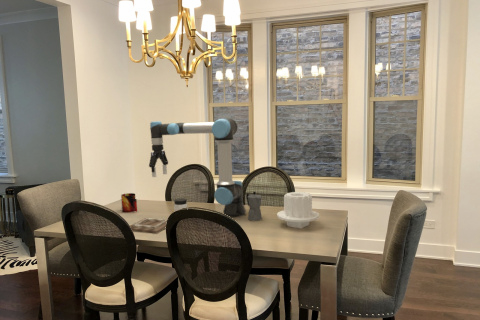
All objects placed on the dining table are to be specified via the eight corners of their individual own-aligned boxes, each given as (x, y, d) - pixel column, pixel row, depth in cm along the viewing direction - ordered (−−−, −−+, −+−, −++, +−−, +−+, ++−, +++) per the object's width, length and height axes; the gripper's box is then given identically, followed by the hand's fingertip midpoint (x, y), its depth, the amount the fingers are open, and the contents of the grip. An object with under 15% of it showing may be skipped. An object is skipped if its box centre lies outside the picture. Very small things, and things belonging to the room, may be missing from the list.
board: (175, 222, 240) (175, 218, 240) (157, 233, 220) (156, 228, 219) (145, 220, 247) (145, 216, 247) (124, 230, 227) (124, 226, 227)
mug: (136, 213, 267) (135, 196, 265) (119, 212, 270) (118, 195, 269) (143, 209, 276) (142, 193, 274) (127, 209, 280) (126, 193, 278)
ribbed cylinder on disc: (305, 234, 212) (305, 201, 210) (268, 226, 228) (268, 195, 226) (326, 223, 231) (326, 193, 228) (291, 217, 247) (291, 188, 245)
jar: (171, 217, 252) (171, 200, 251) (180, 215, 259) (179, 197, 258) (182, 219, 247) (181, 201, 246) (190, 216, 254) (189, 199, 253)
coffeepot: (266, 220, 242) (266, 192, 240) (254, 222, 237) (254, 194, 235) (252, 215, 255) (252, 188, 253) (241, 217, 250) (240, 190, 248)
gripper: (162, 143, 269) (164, 173, 271) (141, 145, 246) (144, 178, 248) (171, 143, 267) (173, 173, 268) (151, 145, 243) (154, 178, 245)
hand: (159, 175), depth 258 cm, fingers open, 13 cm apart
